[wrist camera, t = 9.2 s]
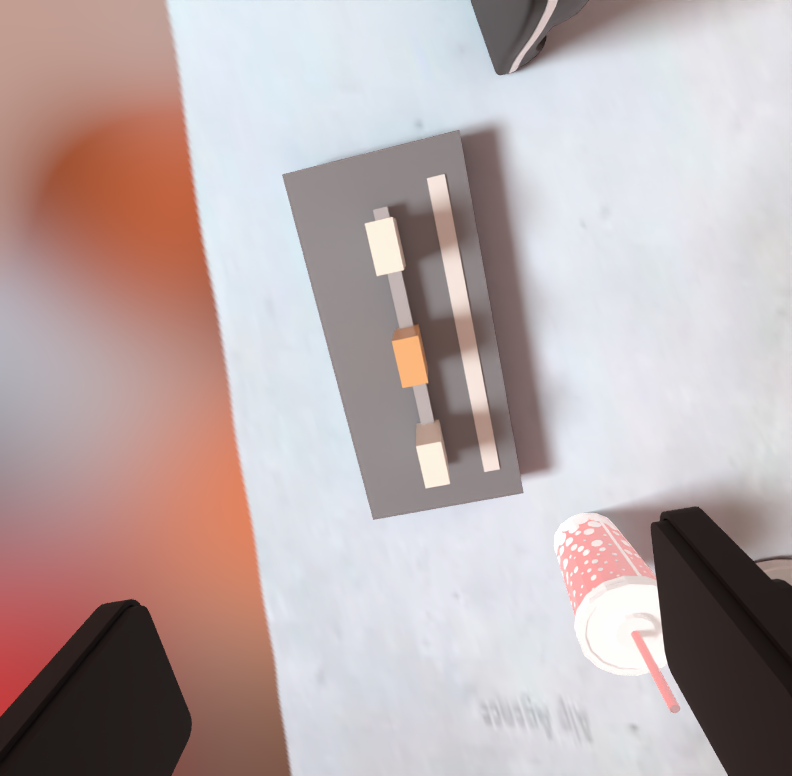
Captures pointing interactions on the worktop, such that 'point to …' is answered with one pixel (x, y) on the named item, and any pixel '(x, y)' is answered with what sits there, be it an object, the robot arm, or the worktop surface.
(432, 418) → the switch paddles
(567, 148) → the worktop surface
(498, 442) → the switch panel
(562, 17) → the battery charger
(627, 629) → the beverage cup
